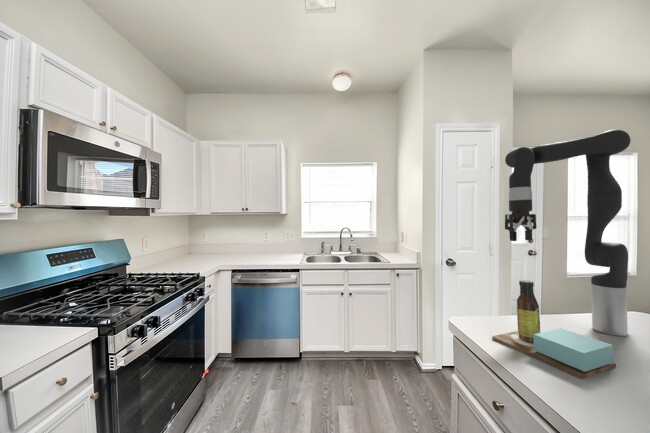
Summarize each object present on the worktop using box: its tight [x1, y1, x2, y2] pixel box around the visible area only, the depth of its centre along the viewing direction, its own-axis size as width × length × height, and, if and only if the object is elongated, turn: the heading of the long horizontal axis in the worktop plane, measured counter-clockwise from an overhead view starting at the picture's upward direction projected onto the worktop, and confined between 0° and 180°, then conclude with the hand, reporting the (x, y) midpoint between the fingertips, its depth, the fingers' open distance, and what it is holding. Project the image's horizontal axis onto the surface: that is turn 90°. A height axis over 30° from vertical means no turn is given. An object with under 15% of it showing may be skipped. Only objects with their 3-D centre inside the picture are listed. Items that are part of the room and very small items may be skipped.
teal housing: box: [533, 327, 614, 372], centre depth 82 cm, size 13×13×5 cm
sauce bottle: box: [516, 279, 541, 343], centre depth 94 cm, size 7×6×20 cm
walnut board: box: [491, 330, 617, 379], centre depth 88 cm, size 16×26×1 cm, turn 20°
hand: (521, 240), depth 108 cm, fingers open, 8 cm apart
